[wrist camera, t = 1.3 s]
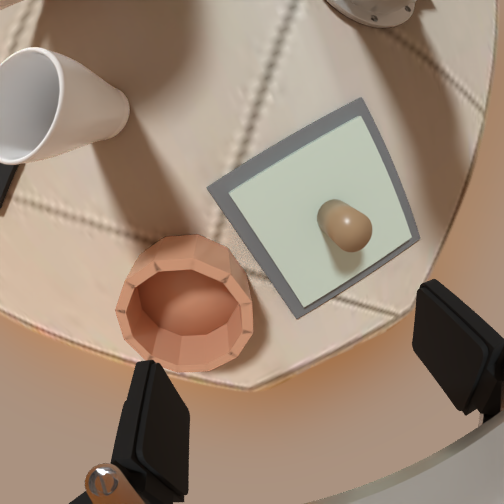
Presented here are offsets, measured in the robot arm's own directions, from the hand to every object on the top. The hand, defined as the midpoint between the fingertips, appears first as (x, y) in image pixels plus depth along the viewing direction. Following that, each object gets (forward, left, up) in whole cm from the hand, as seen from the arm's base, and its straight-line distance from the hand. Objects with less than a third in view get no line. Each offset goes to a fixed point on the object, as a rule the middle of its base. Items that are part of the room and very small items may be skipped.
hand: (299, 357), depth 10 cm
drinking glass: (+6, -16, -22) cm, 27 cm away
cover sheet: (-7, +5, -21) cm, 23 cm away
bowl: (+10, +4, -21) cm, 24 cm away
